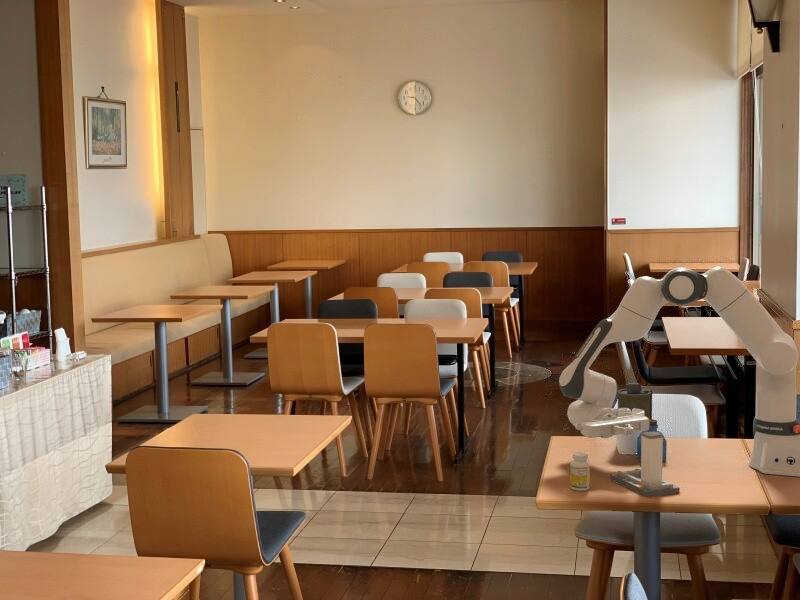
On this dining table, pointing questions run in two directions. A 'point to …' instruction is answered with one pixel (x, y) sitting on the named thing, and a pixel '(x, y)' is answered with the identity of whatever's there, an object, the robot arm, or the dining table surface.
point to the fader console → (643, 484)
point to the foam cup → (628, 438)
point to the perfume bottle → (652, 427)
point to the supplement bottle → (580, 472)
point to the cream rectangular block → (651, 457)
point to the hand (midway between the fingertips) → (629, 431)
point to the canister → (636, 399)
